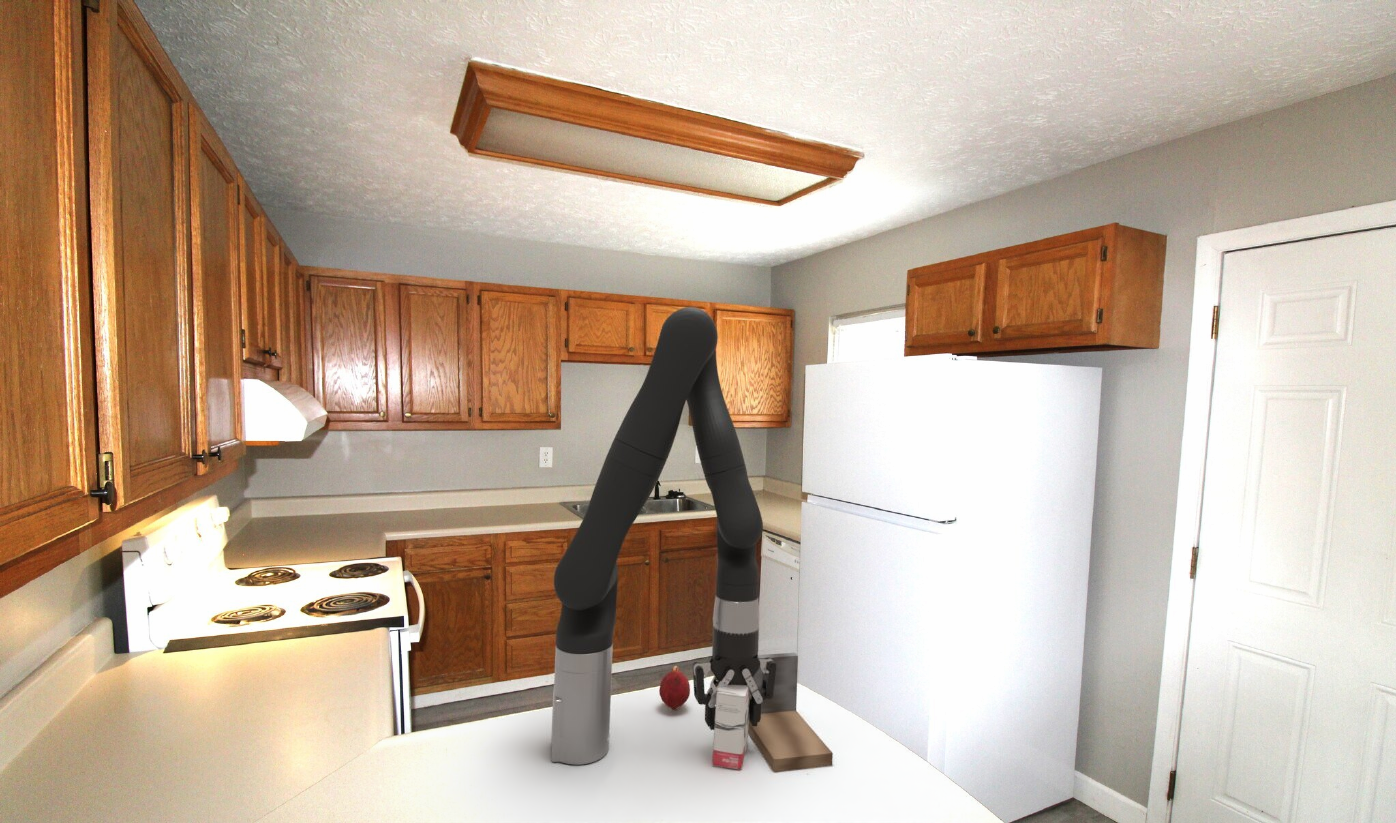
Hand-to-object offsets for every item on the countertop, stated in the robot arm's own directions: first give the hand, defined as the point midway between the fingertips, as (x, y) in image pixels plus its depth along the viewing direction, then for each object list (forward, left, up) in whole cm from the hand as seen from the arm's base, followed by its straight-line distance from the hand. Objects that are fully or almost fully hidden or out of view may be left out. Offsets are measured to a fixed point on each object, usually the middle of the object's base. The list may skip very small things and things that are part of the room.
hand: (732, 725), depth 100 cm
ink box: (0, 0, -5) cm, 5 cm away
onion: (-6, +17, -5) cm, 19 cm away
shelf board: (+10, +2, -5) cm, 11 cm away
